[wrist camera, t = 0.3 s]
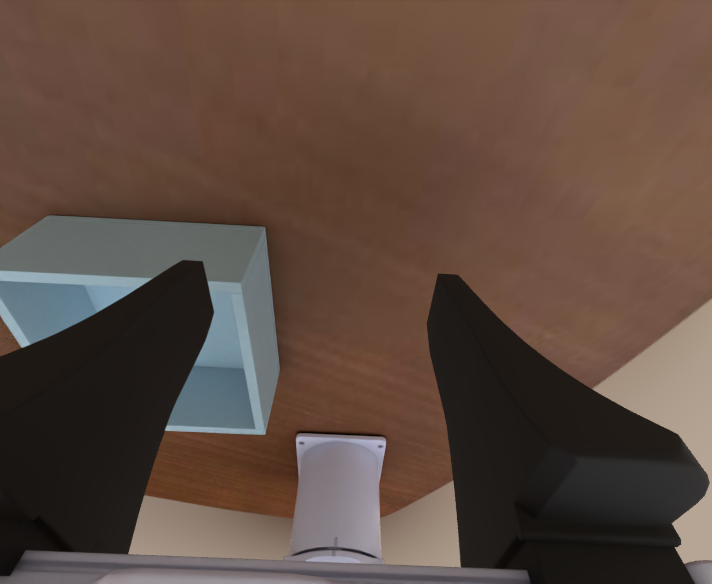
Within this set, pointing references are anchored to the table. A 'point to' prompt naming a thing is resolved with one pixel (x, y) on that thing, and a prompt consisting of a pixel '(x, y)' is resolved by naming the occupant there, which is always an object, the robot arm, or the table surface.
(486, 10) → the table surface
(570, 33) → the table surface
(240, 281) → the light blue open box
